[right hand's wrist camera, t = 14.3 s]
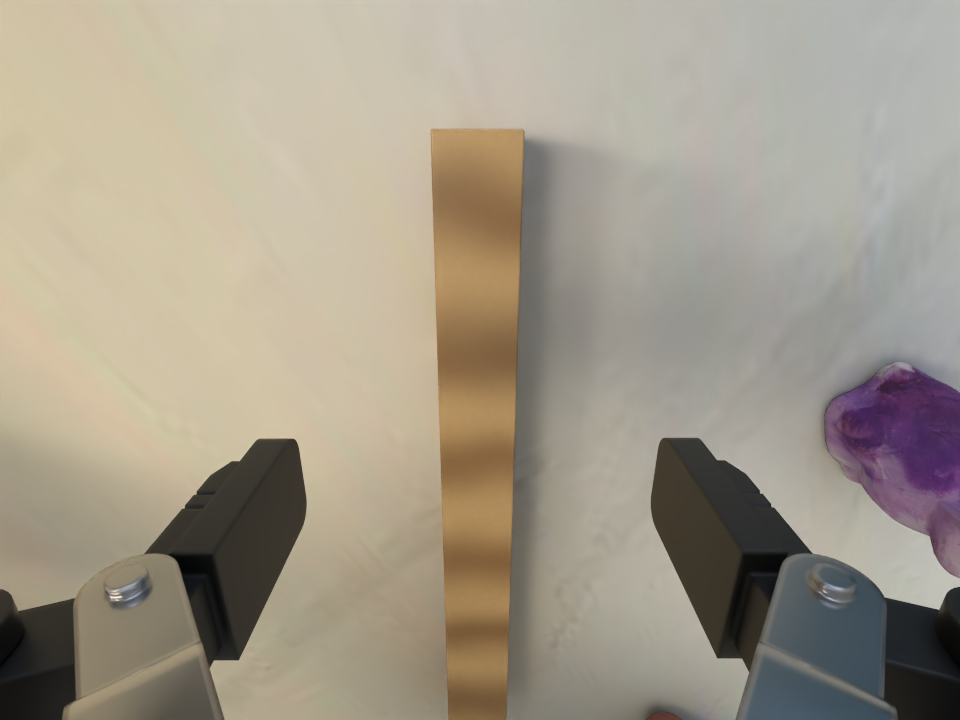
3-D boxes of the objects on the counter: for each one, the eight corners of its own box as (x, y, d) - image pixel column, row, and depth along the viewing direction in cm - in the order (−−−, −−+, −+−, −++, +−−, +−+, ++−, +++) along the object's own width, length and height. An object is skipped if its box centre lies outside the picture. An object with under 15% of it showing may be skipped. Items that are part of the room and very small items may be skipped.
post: (442, 135, 32) (430, 128, 24) (513, 135, 32) (524, 129, 24) (455, 699, 51) (451, 799, 43) (500, 699, 51) (503, 799, 43)
